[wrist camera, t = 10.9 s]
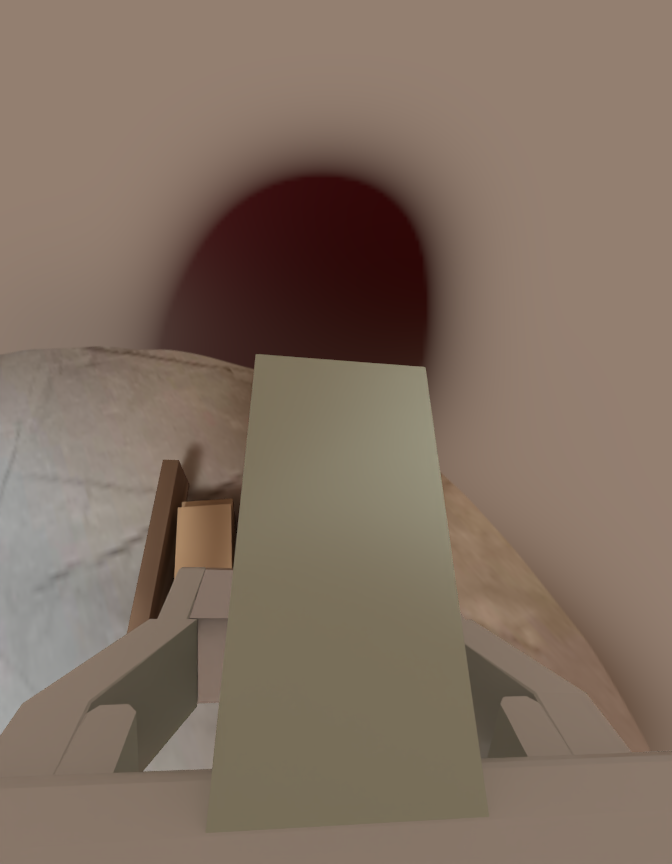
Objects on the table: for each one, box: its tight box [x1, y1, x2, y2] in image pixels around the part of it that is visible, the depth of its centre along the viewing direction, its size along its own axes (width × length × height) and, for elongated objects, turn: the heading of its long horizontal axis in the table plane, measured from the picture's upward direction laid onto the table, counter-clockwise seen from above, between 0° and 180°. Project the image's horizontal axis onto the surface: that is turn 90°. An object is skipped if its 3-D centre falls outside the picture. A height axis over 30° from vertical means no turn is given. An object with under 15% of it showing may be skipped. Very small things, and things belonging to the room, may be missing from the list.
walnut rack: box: [127, 460, 189, 634], centre depth 33 cm, size 13×16×5 cm
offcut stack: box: [174, 498, 235, 579], centre depth 33 cm, size 4×11×4 cm, turn 7°
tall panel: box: [206, 354, 489, 833], centre depth 11 cm, size 2×6×14 cm, turn 1°
